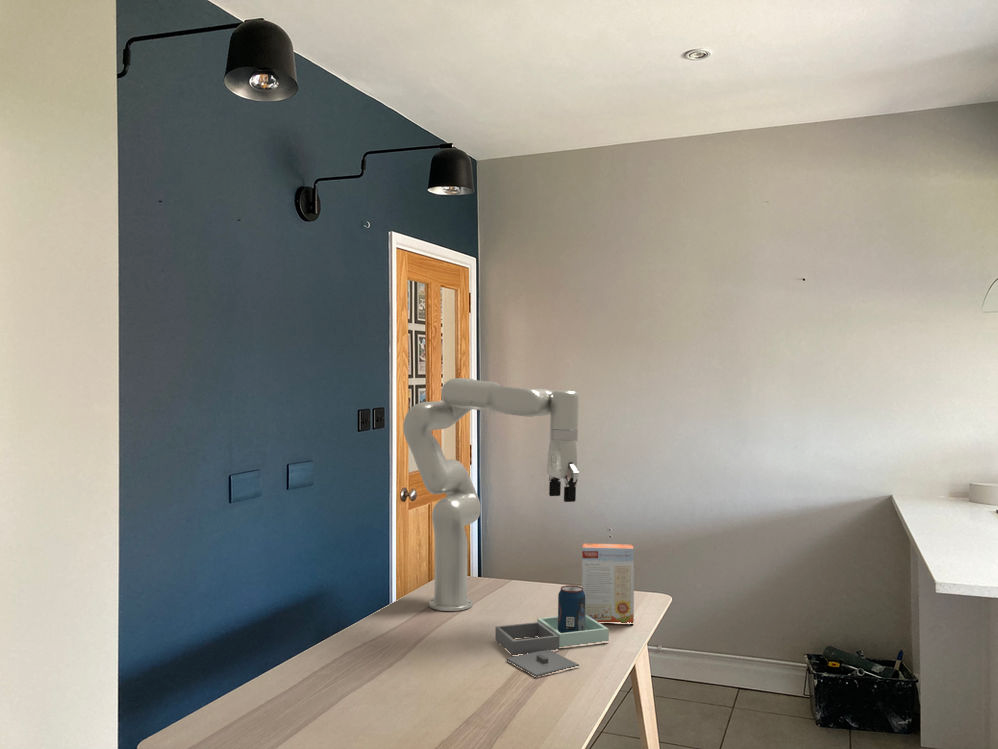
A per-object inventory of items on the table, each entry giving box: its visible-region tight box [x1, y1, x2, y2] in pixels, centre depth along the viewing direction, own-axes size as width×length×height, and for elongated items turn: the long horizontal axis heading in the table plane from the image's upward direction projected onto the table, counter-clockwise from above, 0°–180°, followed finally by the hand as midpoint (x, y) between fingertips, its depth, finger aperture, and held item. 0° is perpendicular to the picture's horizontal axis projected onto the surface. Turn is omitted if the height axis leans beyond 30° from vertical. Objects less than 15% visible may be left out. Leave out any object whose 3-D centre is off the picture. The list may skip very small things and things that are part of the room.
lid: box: [505, 649, 580, 677], centre depth 183 cm, size 12×12×2 cm
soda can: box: [557, 584, 585, 633], centre depth 202 cm, size 7×7×12 cm
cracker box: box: [581, 542, 635, 623], centre depth 216 cm, size 14×6×21 cm, turn 84°
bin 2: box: [536, 614, 610, 647], centre depth 202 cm, size 14×14×4 cm
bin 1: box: [494, 621, 560, 655], centre depth 195 cm, size 12×12×4 cm
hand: (562, 498), depth 215 cm, fingers open, 9 cm apart
